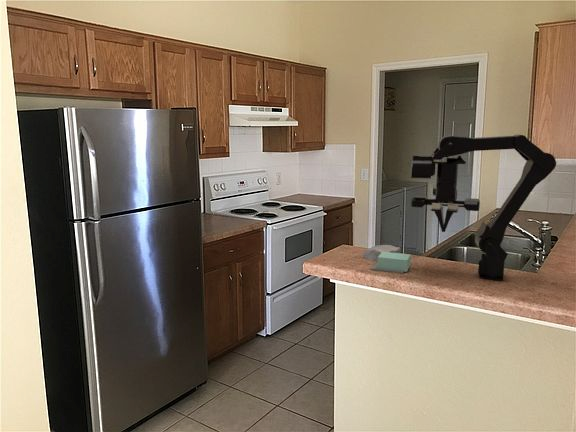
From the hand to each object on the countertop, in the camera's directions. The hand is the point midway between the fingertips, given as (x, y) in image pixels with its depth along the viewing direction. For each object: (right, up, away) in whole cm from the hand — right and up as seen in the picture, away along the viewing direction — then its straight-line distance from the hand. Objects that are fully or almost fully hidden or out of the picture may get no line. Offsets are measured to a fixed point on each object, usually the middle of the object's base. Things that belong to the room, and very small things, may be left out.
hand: (443, 231), depth 142 cm
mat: (-14, -12, +8) cm, 20 cm away
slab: (-9, -10, +6) cm, 14 cm away
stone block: (-15, -10, +21) cm, 27 cm away
